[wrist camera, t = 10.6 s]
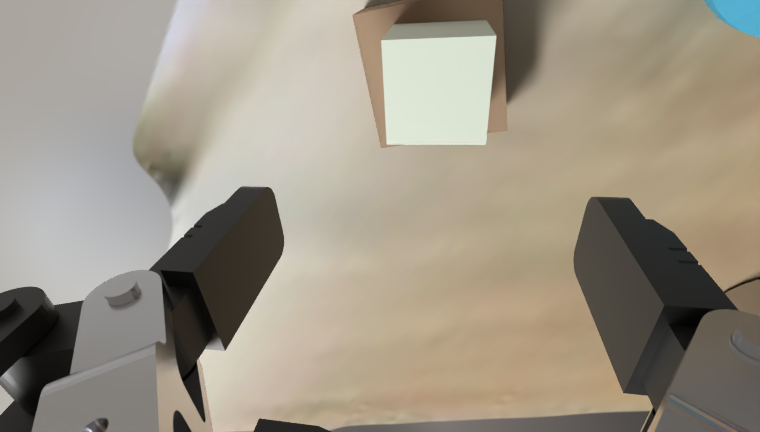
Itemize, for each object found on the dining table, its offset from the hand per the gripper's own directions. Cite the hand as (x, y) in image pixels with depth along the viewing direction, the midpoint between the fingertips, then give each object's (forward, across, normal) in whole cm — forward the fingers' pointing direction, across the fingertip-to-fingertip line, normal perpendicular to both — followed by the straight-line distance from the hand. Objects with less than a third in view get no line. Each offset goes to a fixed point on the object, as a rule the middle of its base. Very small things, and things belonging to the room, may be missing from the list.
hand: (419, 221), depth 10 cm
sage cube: (+15, 0, -1) cm, 15 cm away
